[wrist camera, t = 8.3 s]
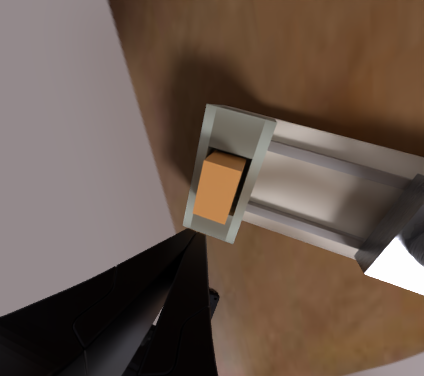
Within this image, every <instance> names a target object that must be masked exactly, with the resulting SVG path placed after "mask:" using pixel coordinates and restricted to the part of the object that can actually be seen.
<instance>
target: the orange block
mask: <svg viewBox="0 0 424 376" xmlns="http://www.w3.org/2000/svg"><path fill="white" fill-rule="evenodd" d="M246 160H247V159H243V158H240V157H237V156H233V155H230V154H227V153H223V152H220V151H217V150H215V151H214V152H213V153H212V154H211V155H209V156H208V157H207V158H206V159H205V160H204V162H203V167H202V171H201V176H200V180H199V185H198V190H197V194H196V199H195V203H194V208H193V214H196V215H199V216H201V217H204V218H207V219H210V220H213V221H215V222H218V223H221V224H224V225H225V223H226V220H227V217H228V214H229V212H230V209H231V206H232V203H233V200H234V197H235V194H236V191H237V188H238V184H239V181H240V178H241V175H242V172H243V169H244V166H245V163H246Z"/></svg>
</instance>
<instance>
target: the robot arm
mask: <svg viewBox="0 0 424 376" xmlns="http://www.w3.org/2000/svg"><path fill="white" fill-rule="evenodd" d="M218 301H219V295H218V294H216V293H213V292H211V291H209V281H208V262H207V243H206V235H205V234H203V233H200V232H196V231H195V230H192V229H190V228H187V229H185V230H183V231H181V232H179V233H178V234H176V235H174V236H172V237H170V238H168V239H166V240H164V241H162V242H160V243H158V244H157V245H155V246H153V247H151V248H149V249H147V250H145V251H143V252H141V253H139V254H137V255H136V256H134V257H132V258H130V259H128V260H126V261H124V262H122V263H120V264H118V265H117V266H116V267H115V266H114V267H113V268H110V269H109V270H107V271H105V272H103V273H101V274H99V275H97V276H95V277H93V278H91V279H89V280H86V281H84V282H82V283H80V284H77V285H76V286H73V287H71V288H69V289H67V290H64V291H61V292H59V293H57V294H54V295H52V296H50V297H47V298H45V299H43V300H40V301H38V302H36V303H33V304H31V305H28V306H26V307H24V308H21V309H19V310H16V311H14V312H12V313H9V314H7V315H4V316H1V317H0V376H218V372H217V366H216V360H215V353H214V346H213V339H212V328H211V319H212V316H213V314H214V311H215V309H216V306H217V303H218ZM162 307H163V308H162ZM161 309H162V311H161V313H160V316H159V319H158V321H157V323H156V326H155V325H153V322H154V320H155V319H156V317H157V315H158V314H159V312H160V310H161Z"/></svg>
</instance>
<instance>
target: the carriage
mask: <svg viewBox="0 0 424 376" xmlns="http://www.w3.org/2000/svg"><path fill="white" fill-rule="evenodd" d="M354 257H355V259H356V261H357V262H358V264H359V266H360V267H361V269H362V271H363V272H364V274H366V275H369V276H372V277H375V278H378V279H380V280H383V281H386V282H389V283H392V284H395V285H397V286H400V287H403V288H406V289H409V290H411V291H414V292H417V293H420V294H423V295H424V175H422V174H418V173H417V175H416V176H415V177H414V178H413V180H412V181H411V182H410V184H409V185H408V186H407V188H406V189H405V190H404V191H403V193H402V194H401V195H400V197H399V198H398V199H397V201H396V202H395V203H394V204H393V206H392V207H391V208H390V210H389V211H388V212H387V213H386V215H385V216H384V217H383V219H382V220H381V221H380V223H379V224H378V225H377V226H376V228H375V229H374V230H373V232H372V233H371V234H370V236H369V237H368V238H367V239H366V241H365V242H364V243H363V245H362V246H361V247H360V248H359V250H358V251H357V252H356V254H355V255H354Z"/></svg>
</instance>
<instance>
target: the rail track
mask: <svg viewBox="0 0 424 376" xmlns="http://www.w3.org/2000/svg"><path fill="white" fill-rule="evenodd" d="M215 150H217V151H220V152H223V153H227V154H230V155H233V156H237V157H240V158H243V159H247V160H246V163H245V166H244V169H243V172H242V175H241V178H240V181H239V184H238V188H237V191H236V194H235V197H234V200H233V203H232V206H231V209H230V212H229V214H228V217H227V220H226V223H225V225H224V224H221V223H218V222H215V221H213V220H210V219H207V218H204V217H201V216H199V215H196V214H193V208H194V203H195V199H196V194H197V190H198V185H199V180H200V176H201V171H202V167H203V162H204V160H205V159H206V158H207V157H208V156H209V155H211V154H212V153H213V152H214V151H215ZM417 173H418V174H422V175H424V157H421V156H417V155H414V154H410V153H406V152H402V151H398V150H395V149H391V148H387V147H383V146H379V145H375V144H372V143H368V142H364V141H360V140H356V139H352V138H349V137H345V136H341V135H337V134H333V133H329V132H326V131H322V130H318V129H314V128H310V127H307V126H303V125H299V124H295V123H291V122H287V121H284V120H280V119H276V118H272V117H268V116H264V115H261V114H257V113H253V112H249V111H245V110H241V109H238V108H234V107H230V106H226V105H217V104H207V105H206V110H205V115H204V120H203V125H202V130H201V135H200V140H199V145H198V150H197V156H196V161H195V166H194V171H193V176H192V181H191V186H190V191H189V196H188V201H187V206H186V211H185V217H184V222H183V226H185V227H188V228H191V229H193V230H196V231H199V232H201V233H204V234H207V235H210V236H212V237H215V238H218V239H220V240H223V241H226V242H228V243H231V244H233V242H234V240H235V237H236V234H237V232H238V229H239V226H240V223H241V221H242V220H243V221H246V222H249V223H252V224H255V225H257V226H260V227H263V228H266V229H269V230H272V231H275V232H278V233H281V234H283V235H286V236H289V237H292V238H295V239H298V240H301V241H304V242H306V243H309V244H312V245H315V246H318V247H321V248H324V249H327V250H329V251H332V252H335V253H338V254H341V255H344V256H347V257H350V258H352V259H355V257H354V255H355V254H356V252H357V251H358V250H359V248H360V247H361V246H362V245H363V243H364V242H365V241H366V239H367V238H368V237H369V236H370V234H371V233H372V232H373V230H374V229H375V228H376V226H377V225H378V224H379V223H380V221H381V220H382V219H383V217H384V216H385V215H386V213H387V212H388V211H389V210H390V208H391V207H392V206H393V204H394V203H395V202H396V201H397V199H398V198H399V197H400V195H401V194H402V193H403V191H404V190H405V189H406V188H407V186H408V185H409V184H410V182H411V181H412V180H413V178H414V177H415V176H416V175H417ZM355 260H356V259H355Z"/></svg>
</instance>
